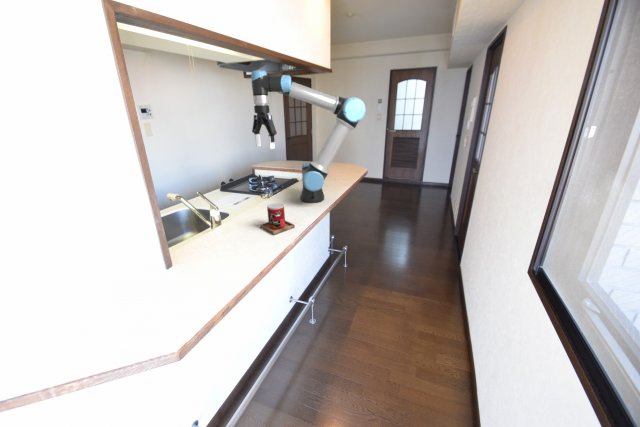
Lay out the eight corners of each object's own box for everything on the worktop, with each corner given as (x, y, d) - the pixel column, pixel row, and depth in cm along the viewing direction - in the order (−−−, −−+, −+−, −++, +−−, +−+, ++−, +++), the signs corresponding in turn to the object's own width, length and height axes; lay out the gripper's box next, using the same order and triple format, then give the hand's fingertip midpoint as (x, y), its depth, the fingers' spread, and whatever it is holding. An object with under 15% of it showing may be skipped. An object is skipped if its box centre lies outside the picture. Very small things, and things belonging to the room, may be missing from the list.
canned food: (265, 228, 131) (263, 206, 127) (275, 222, 137) (274, 201, 133) (278, 231, 128) (277, 209, 124) (288, 224, 134) (287, 203, 130)
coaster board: (280, 220, 141) (280, 218, 140) (294, 227, 132) (294, 224, 132) (260, 227, 133) (259, 224, 133) (273, 235, 125) (273, 232, 124)
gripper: (243, 105, 145) (247, 146, 152) (268, 104, 127) (272, 150, 135) (255, 105, 149) (259, 144, 157) (281, 104, 132) (284, 148, 140)
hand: (265, 147), depth 146 cm, fingers open, 13 cm apart
